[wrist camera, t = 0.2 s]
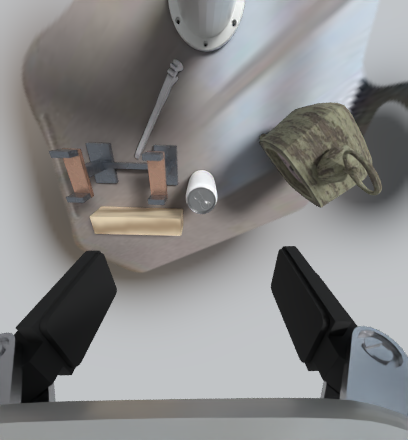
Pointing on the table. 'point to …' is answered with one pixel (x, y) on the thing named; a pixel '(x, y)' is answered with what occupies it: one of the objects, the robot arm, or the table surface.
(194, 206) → the can
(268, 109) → the table surface
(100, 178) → the grey support stand
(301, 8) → the table surface
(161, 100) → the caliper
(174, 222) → the rail
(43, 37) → the table surface
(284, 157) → the tabletop clock
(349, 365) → the robot arm
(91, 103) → the table surface
